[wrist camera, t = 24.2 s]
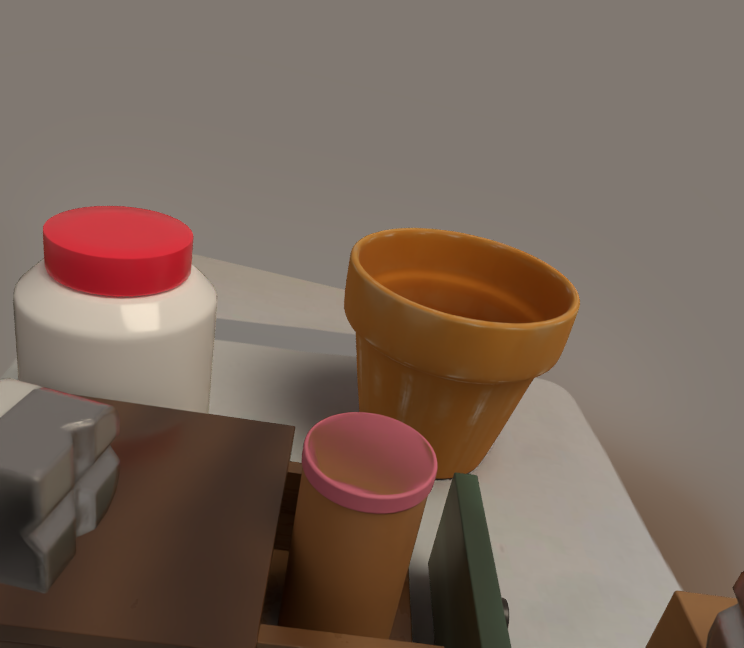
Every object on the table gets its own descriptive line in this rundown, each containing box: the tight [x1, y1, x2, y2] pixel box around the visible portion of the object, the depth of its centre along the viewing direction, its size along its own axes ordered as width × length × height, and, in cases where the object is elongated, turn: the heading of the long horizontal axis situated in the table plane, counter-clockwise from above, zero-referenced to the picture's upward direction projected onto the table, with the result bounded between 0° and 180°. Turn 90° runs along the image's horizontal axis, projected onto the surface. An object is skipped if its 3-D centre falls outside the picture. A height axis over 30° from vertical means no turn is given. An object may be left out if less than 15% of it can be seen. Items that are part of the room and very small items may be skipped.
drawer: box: [256, 461, 511, 648], centre depth 30 cm, size 15×11×6 cm
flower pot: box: [344, 228, 580, 479], centre depth 45 cm, size 14×14×13 cm
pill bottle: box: [13, 206, 217, 414], centre depth 38 cm, size 10×10×14 cm
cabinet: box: [0, 394, 295, 648], centre depth 29 cm, size 15×13×8 cm
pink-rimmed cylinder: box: [278, 412, 438, 640], centre depth 29 cm, size 5×5×10 cm
